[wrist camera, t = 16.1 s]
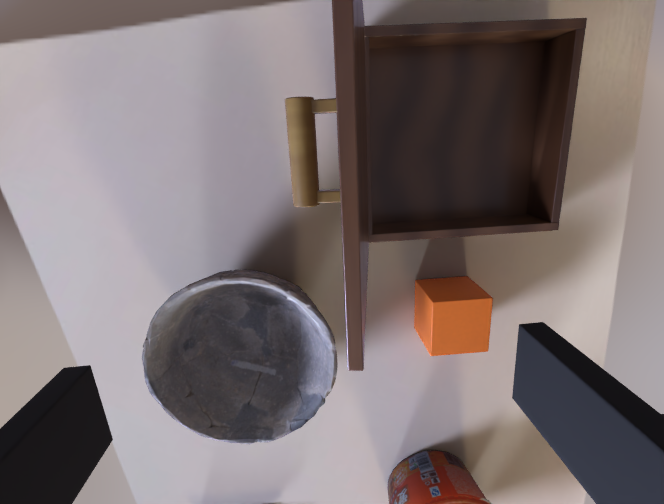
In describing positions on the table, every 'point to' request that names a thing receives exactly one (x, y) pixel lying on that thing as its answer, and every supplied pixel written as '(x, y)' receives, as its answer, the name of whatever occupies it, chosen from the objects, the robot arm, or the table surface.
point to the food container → (433, 481)
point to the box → (469, 126)
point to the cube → (452, 315)
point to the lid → (340, 163)
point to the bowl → (240, 357)
